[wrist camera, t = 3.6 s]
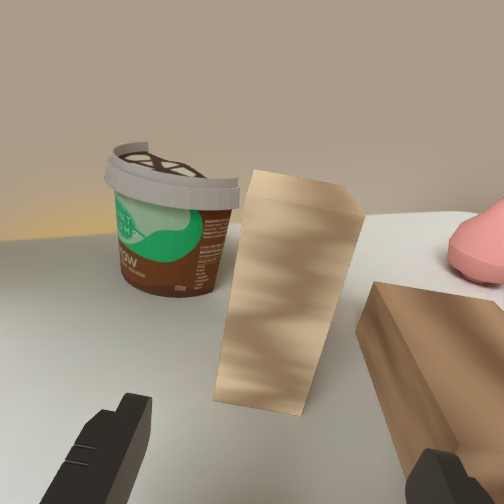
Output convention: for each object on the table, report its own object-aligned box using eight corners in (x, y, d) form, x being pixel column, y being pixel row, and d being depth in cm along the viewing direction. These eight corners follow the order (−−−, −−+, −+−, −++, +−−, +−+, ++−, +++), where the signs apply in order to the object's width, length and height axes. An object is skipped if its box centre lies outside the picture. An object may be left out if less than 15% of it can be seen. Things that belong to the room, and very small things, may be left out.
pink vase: (485, 301, 36) (545, 188, 31) (424, 265, 42) (466, 165, 37) (524, 292, 40) (584, 189, 35) (463, 260, 46) (506, 168, 41)
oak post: (213, 400, 20) (246, 195, 15) (225, 342, 24) (254, 169, 19) (301, 416, 20) (365, 216, 15) (297, 355, 24) (345, 185, 19)
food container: (79, 255, 32) (73, 139, 27) (141, 241, 36) (144, 140, 32) (160, 328, 25) (170, 188, 20) (224, 300, 29) (243, 180, 25)
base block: (414, 516, 16) (459, 444, 14) (354, 335, 28) (373, 281, 26) (602, 543, 17) (674, 477, 14) (464, 353, 28) (493, 301, 26)
